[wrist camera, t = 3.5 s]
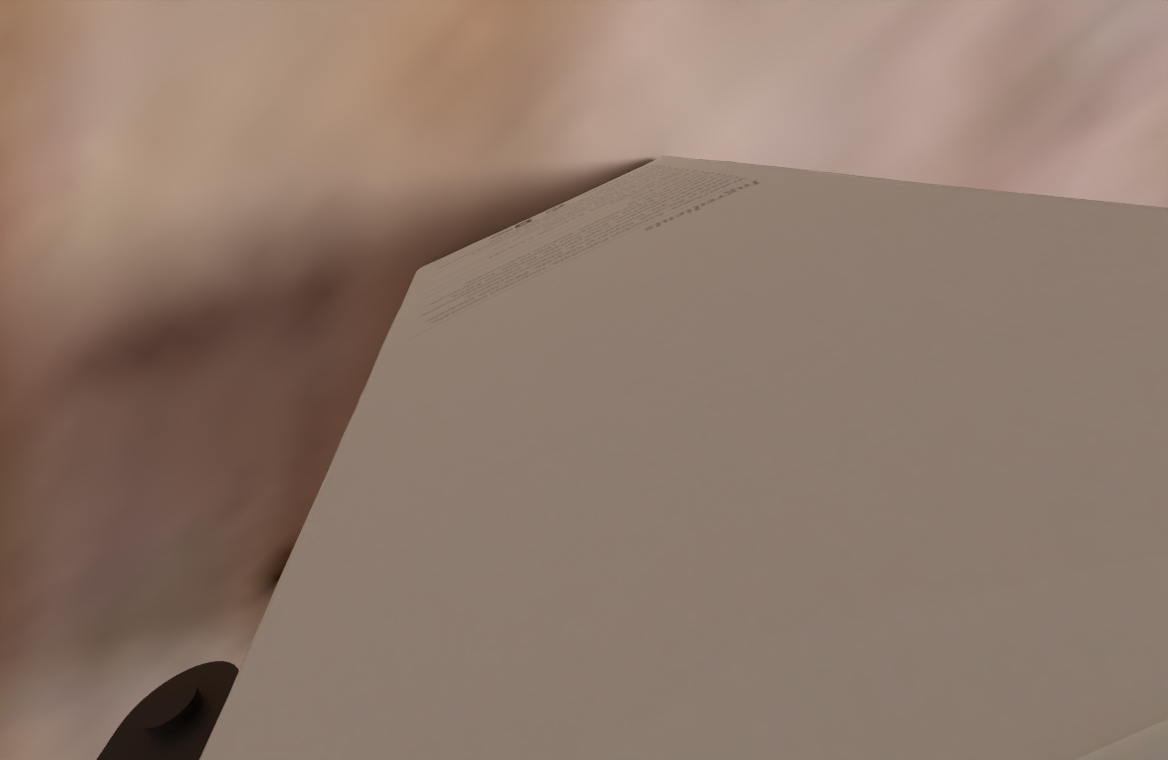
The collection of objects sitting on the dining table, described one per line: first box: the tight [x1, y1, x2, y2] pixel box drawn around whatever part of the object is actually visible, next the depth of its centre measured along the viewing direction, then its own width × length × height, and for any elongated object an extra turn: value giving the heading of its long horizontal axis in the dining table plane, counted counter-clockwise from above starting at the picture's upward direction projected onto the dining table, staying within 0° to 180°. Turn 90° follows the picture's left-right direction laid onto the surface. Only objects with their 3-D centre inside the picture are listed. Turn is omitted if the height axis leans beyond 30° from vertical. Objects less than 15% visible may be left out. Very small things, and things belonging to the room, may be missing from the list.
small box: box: [199, 156, 1168, 760], centre depth 9 cm, size 8×6×13 cm
